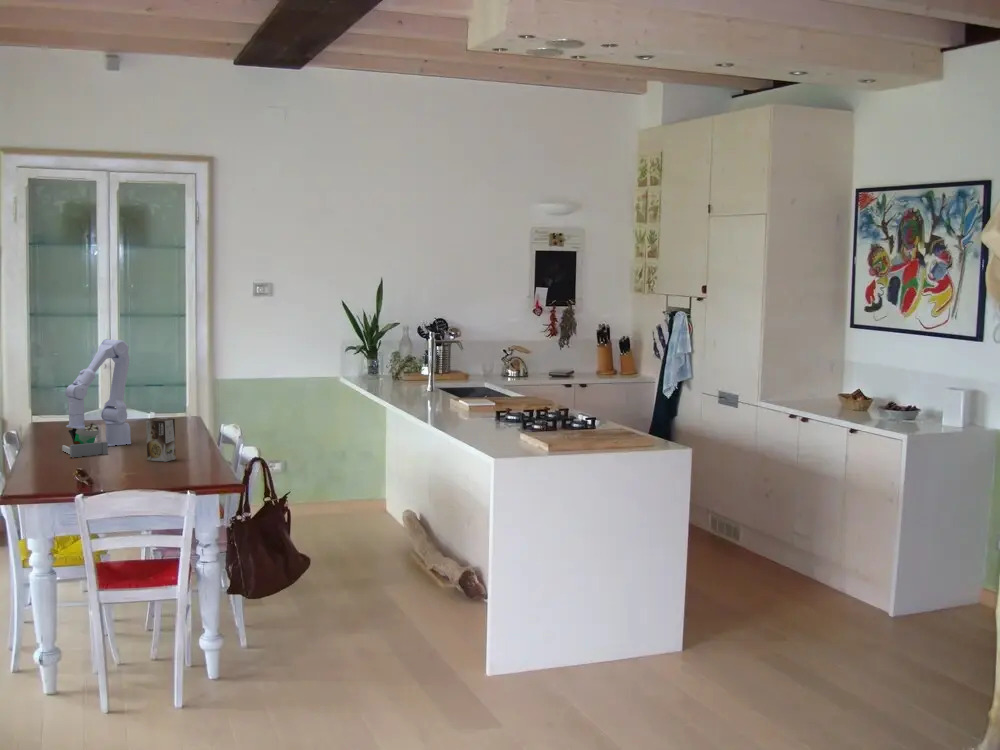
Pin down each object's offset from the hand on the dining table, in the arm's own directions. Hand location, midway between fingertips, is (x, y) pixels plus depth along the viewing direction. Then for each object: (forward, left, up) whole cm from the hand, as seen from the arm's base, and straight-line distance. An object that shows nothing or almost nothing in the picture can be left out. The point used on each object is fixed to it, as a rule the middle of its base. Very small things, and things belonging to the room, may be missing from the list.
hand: (77, 447), depth 421 cm
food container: (-2, +4, -1) cm, 4 cm away
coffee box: (-20, +37, -2) cm, 42 cm away
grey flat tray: (0, +7, -2) cm, 7 cm away
